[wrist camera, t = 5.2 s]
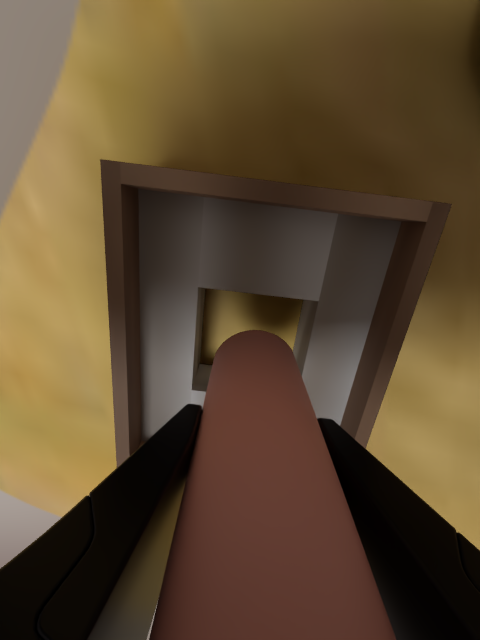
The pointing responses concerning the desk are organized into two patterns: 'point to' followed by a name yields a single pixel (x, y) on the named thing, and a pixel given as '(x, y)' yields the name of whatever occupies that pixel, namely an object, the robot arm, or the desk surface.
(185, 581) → the peg
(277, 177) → the desk surface
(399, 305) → the square frame
